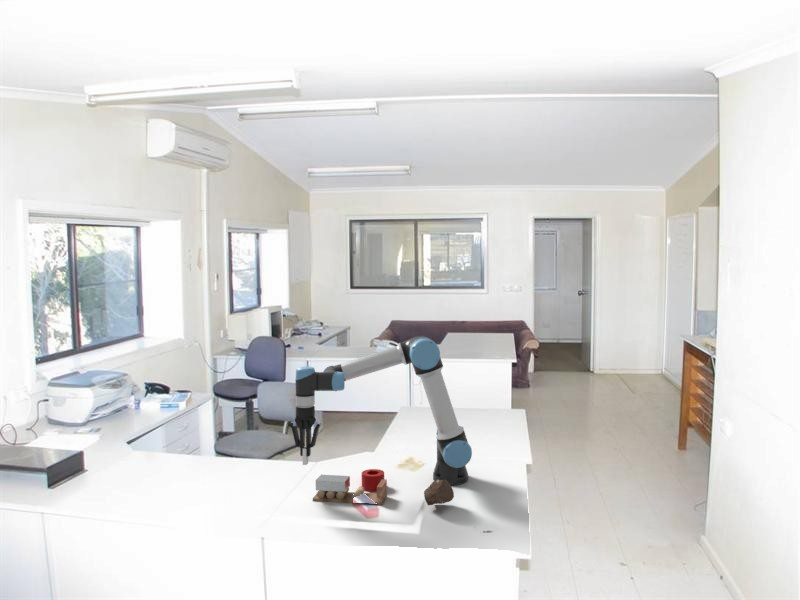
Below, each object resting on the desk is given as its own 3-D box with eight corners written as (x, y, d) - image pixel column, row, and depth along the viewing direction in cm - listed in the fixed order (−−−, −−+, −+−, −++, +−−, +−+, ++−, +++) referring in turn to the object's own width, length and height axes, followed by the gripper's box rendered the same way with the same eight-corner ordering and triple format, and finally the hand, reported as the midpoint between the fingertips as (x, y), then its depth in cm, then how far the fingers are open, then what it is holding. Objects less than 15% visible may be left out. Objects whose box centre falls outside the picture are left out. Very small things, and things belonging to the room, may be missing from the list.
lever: (387, 490, 253) (386, 474, 253) (365, 493, 250) (364, 477, 250) (375, 477, 270) (375, 462, 270) (354, 479, 268) (354, 464, 267)
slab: (349, 485, 248) (349, 476, 248) (345, 492, 241) (344, 481, 241) (321, 484, 250) (321, 474, 250) (315, 490, 243) (315, 480, 243)
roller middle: (332, 491, 250) (332, 484, 250) (339, 492, 249) (339, 484, 249) (326, 498, 242) (326, 491, 242) (333, 499, 241) (333, 491, 241)
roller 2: (341, 492, 249) (341, 484, 249) (349, 492, 248) (349, 485, 248) (336, 499, 241) (336, 491, 241) (343, 499, 241) (343, 492, 240)
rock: (440, 512, 229) (440, 486, 229) (416, 507, 235) (416, 481, 234) (455, 502, 240) (455, 476, 239) (432, 497, 245) (432, 472, 245)
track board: (386, 496, 246) (386, 479, 246) (382, 505, 237) (381, 487, 237) (319, 492, 251) (319, 475, 251) (312, 500, 242) (312, 483, 242)
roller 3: (365, 492, 247) (358, 493, 248) (364, 486, 247) (357, 486, 248) (360, 500, 239) (353, 500, 240) (359, 493, 239) (352, 493, 240)
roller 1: (322, 491, 250) (322, 483, 250) (330, 491, 250) (329, 484, 250) (316, 498, 243) (316, 490, 242) (324, 498, 242) (323, 491, 242)
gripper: (323, 404, 248) (323, 462, 249) (293, 403, 251) (293, 460, 252) (317, 408, 241) (318, 467, 242) (286, 407, 243) (286, 465, 244)
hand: (305, 463), depth 247 cm, fingers closed
